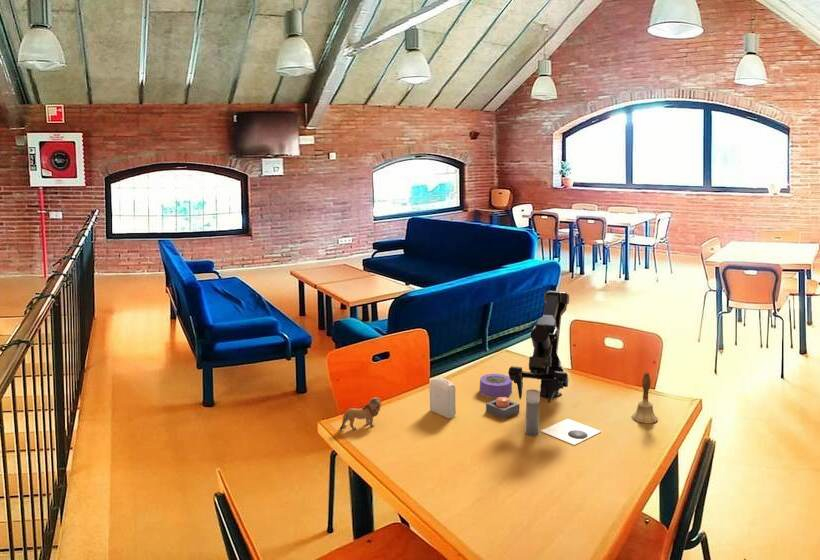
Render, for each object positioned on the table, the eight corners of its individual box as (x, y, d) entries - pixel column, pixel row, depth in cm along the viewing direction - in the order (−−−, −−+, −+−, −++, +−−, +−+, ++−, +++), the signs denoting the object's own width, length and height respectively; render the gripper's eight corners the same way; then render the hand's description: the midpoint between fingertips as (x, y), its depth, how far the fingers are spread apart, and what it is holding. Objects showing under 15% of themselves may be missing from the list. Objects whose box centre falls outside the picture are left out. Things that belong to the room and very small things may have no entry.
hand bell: (627, 419, 222) (629, 373, 219) (638, 411, 228) (640, 367, 224) (651, 426, 216) (654, 379, 213) (662, 418, 222) (665, 372, 219)
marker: (531, 429, 215) (532, 388, 212) (541, 433, 212) (542, 392, 209) (522, 433, 213) (523, 391, 210) (532, 437, 210) (534, 395, 207)
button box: (501, 405, 234) (502, 397, 234) (519, 412, 228) (519, 404, 228) (486, 411, 229) (486, 403, 229) (503, 418, 223) (503, 410, 223)
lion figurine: (377, 419, 225) (377, 394, 223) (384, 425, 220) (383, 399, 218) (336, 428, 218) (335, 402, 216) (342, 434, 214) (341, 408, 212)
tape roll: (513, 398, 241) (514, 384, 240) (481, 398, 241) (481, 385, 240) (509, 385, 253) (509, 373, 252) (478, 386, 253) (478, 373, 252)
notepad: (567, 419, 222) (567, 418, 222) (601, 432, 213) (601, 431, 212) (540, 431, 214) (540, 430, 213) (574, 445, 204) (574, 444, 204)
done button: (502, 405, 232) (502, 395, 231) (512, 409, 228) (512, 399, 228) (493, 409, 229) (493, 399, 228) (503, 413, 226) (503, 403, 225)
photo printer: (427, 410, 231) (427, 376, 229) (437, 407, 234) (437, 373, 231) (448, 419, 223) (448, 384, 221) (457, 416, 226) (457, 381, 223)
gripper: (510, 342, 217) (501, 386, 209) (568, 348, 211) (562, 393, 203) (514, 358, 226) (506, 400, 218) (570, 364, 220) (564, 408, 212)
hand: (534, 400), depth 213 cm, fingers open, 9 cm apart
